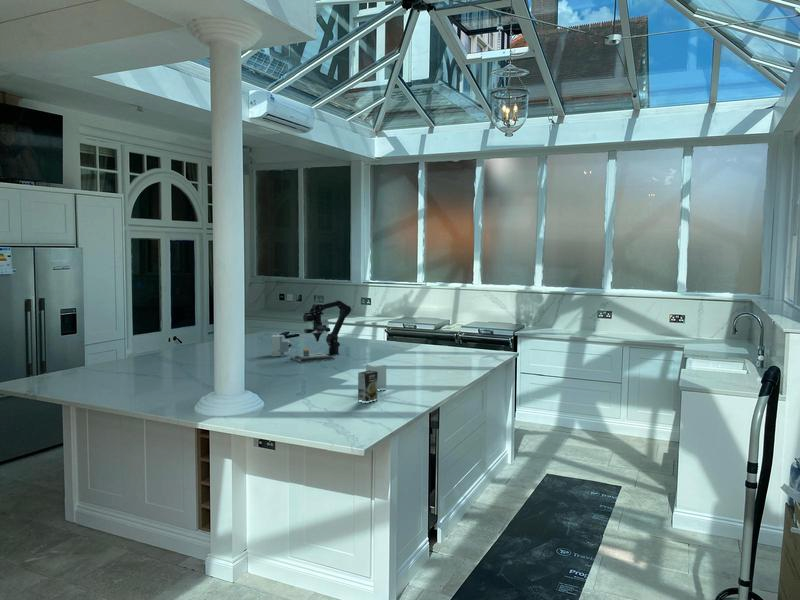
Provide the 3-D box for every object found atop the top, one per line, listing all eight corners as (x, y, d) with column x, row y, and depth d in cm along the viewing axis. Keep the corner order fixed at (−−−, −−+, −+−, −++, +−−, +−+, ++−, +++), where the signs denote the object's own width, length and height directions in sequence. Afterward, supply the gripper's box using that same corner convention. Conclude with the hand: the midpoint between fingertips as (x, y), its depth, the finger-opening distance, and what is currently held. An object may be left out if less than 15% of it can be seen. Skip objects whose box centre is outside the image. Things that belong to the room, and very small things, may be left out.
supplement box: (386, 390, 364) (386, 364, 363) (373, 392, 360) (373, 366, 358) (378, 387, 372) (378, 362, 370) (365, 389, 367) (365, 363, 366)
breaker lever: (307, 357, 457) (307, 348, 457) (309, 358, 455) (309, 349, 454) (303, 357, 456) (303, 348, 455) (304, 358, 453) (304, 349, 453)
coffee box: (366, 404, 334) (366, 374, 333) (357, 402, 338) (357, 372, 337) (378, 400, 341) (378, 371, 339) (369, 398, 345) (369, 369, 344)
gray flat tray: (323, 354, 470) (323, 352, 469) (330, 357, 457) (330, 356, 457) (294, 357, 458) (294, 355, 458) (301, 360, 446) (301, 358, 446)
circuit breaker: (290, 356, 467) (290, 336, 466) (271, 356, 468) (270, 336, 466) (292, 354, 475) (292, 335, 473) (273, 354, 475) (273, 334, 474)
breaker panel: (324, 355, 473) (324, 351, 473) (334, 359, 456) (334, 355, 455) (291, 358, 460) (290, 354, 460) (300, 363, 443) (300, 358, 443)
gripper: (309, 322, 454) (309, 344, 456) (333, 321, 463) (333, 342, 465) (303, 321, 464) (304, 342, 465) (327, 319, 473) (327, 340, 474)
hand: (317, 341), depth 467 cm, fingers closed
